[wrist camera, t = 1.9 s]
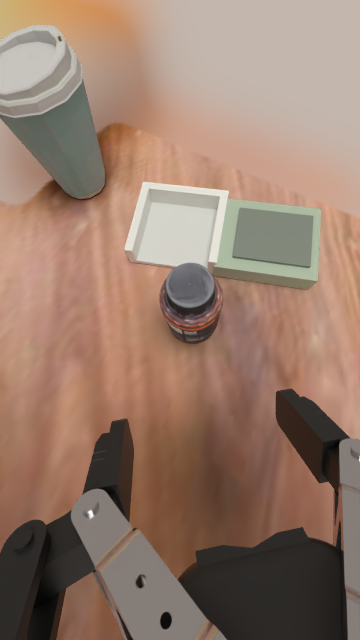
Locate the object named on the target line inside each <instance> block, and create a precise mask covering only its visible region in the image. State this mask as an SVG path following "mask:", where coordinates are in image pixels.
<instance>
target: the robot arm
mask: <svg viewBox="0 0 360 640" xmlns="http://www.w3.org/2000/svg"><path fill="white" fill-rule="evenodd" d="M276 419H277V422H278V424H279V426H280V428H281V429H282V431H283V432H284V433H285V435H286V436H287V438H288V439H289V441H290V442H291V443H292V445H293V446H294V448H295V449H296V451H297V452H298V453H299V455H300V456H301V458H302V459H303V461H304V462H305V464H306V465H307V466H308V468H309V469H310V471H311V472H312V474H313V475H314V476H315V478H316V479H317V481H318V482H319V483H324V482H328V481H329V483H330V484H331V485H332V487H333V488H334V492H333V545H331V544H329V543H327V542H324V541H321V540H319V539H314V538H308V537H307V535H306V533H305V531H304V529H303V527H301V528H297V529H292V530H288V531H283V532H279V533H276V534H274V535H273V536H271V537H270V538H268V539H267V540H265V541H263V542H262V543H260V544H259V545H257V546H255V547H253V548H247V547H236V546H225V545H221V546H217V547H213V548H208V549H204V550H199V551H196V558H197V562H196V563H194V564H192V565H191V566H190V567H189V568H187V569H186V570H185V571H184V572H183V573H182V575H181V576H180V577H179V578H178V580H177V579H176V577H175V576H174V575H173V574H172V572H171V571H170V570H169V568H168V567H167V566H166V564H165V563H164V562H163V560H162V559H161V558H160V556H159V555H158V554H157V552H156V551H155V550H154V548H153V547H152V546H151V544H150V543H149V542H148V540H147V539H146V538H145V536H144V535H143V534H142V533H141V531H140V530H139V529H138V528H135V529H133V528H132V526H131V525H130V524H129V516H130V502H131V488H132V473H133V459H134V447H133V440H132V436H131V432H130V428H129V423H128V420H127V419H121V420H116V421H112V423H111V428H110V433H104V434H102V435H101V436H100V438H99V439H98V441H97V442H96V444H95V448H94V452H93V456H92V460H91V464H90V467H89V471H88V475H87V479H86V483H85V487H84V491H83V494H82V496H81V497H80V498H79V499H78V500H77V501H76V503H75V504H74V506H73V508H72V510H71V511H70V512H68V513H67V514H66V515H64V516H62V517H61V518H59V519H57V520H55V521H53V522H51V523H49V524H47V525H45V523H44V522H43V521H41V520H32V521H29V522H27V523H25V524H23V525H21V526H20V527H19V528H17V529H16V530H15V531H14V532H13V533H12V534H11V535H10V537H9V538H8V539H7V541H6V542H5V544H4V546H3V548H2V550H1V553H0V640H56V638H57V632H58V627H59V622H60V617H61V612H62V606H63V601H64V596H65V591H66V588H67V587H69V586H70V585H72V584H73V583H75V582H77V581H78V580H80V579H81V578H83V577H84V576H86V575H88V574H89V573H91V572H92V573H93V575H94V577H95V579H96V581H97V583H98V585H99V587H100V589H101V591H102V593H103V595H104V597H105V599H106V601H107V603H108V605H109V607H110V609H111V611H112V613H113V615H114V617H115V619H116V621H117V624H118V626H119V628H120V630H121V633H122V635H123V637H124V639H125V640H360V440H358V439H352V438H350V437H349V436H348V435H347V434H346V433H345V432H344V431H343V430H342V429H340V428H339V427H338V426H337V425H336V424H335V423H334V422H333V421H332V420H331V419H330V418H329V417H328V416H327V415H326V414H325V413H324V412H323V411H322V410H321V409H320V408H319V407H318V406H317V405H316V404H315V403H314V402H313V401H311V400H309V399H307V398H306V397H304V396H303V397H299V395H298V394H297V393H296V392H295V391H294V390H293V389H286V390H280V391H277V392H276Z"/></svg>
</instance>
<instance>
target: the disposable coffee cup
mask: <svg viewBox="0 0 360 640" xmlns="http://www.w3.org/2000/svg"><path fill="white" fill-rule="evenodd" d="M0 118H1V119H2V120H3V122H4V123H5V124H6V125H7V126H8V127H9V128H10V129H11V131H12V132H13V133H14V134H15V135H16V136H17V138H18V139H19V140H20V141H21V142H22V143H23V144H24V145H25V147H26V148H27V149H28V150H29V151H30V152H31V153H32V155H33V156H34V157H35V158H36V159H37V160H38V161H39V163H40V164H41V165H42V166H43V167H44V168H45V169H46V170H47V172H48V173H49V174H50V175H51V176H52V177H53V178H54V180H55V181H56V182H57V183H58V184H59V185H60V186H61V187H62V189H63V190H64V191H65V192H66V193H67V194H69V195H70V196H72V197H75V198H78V199H86V198H91V197H93V196H94V195H96V194H98V193H100V191H101V190H102V188H103V187H104V185H105V168H104V164H103V160H102V156H101V152H100V148H99V144H98V140H97V135H96V131H95V127H94V124H93V119H92V115H91V111H90V107H89V103H88V98H87V94H86V90H85V86H84V82H83V79H82V66H81V63H80V62H79V61H78V58H77V56H76V53H75V51H73V49H72V48H71V47H70V46H69V45H68V44H67V43H66V40H65V37H64V36H63V34H62V33H61V32H60V31H59V30H58V29H57V28H56V27H54V26H45V25H34V26H31V27H27V28H24V29H21V30H18V31H15V32H13V33H11V34H10V35H8V36H7V37H5V38H3V39H2V40H0Z"/></svg>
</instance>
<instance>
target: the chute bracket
mask: <svg viewBox="0 0 360 640" xmlns="http://www.w3.org/2000/svg"><path fill="white" fill-rule="evenodd" d="M228 193H229V191H225V190H216V189H206V188H197V187H188V186H179V185H170V184H160V183H151V182H143V185H142V188H141V192H140V195H139V199H138V203H137V206H136V210H135V213H134V217H133V220H132V224H131V227H130V231H129V235H128V238H127V242H126V245H125V249H124V250H125V252H126V254H127V256H128V258H129V260H130V262H134V263H141V264H148V265H155V266H162V267H169V268H175V267H177V266H179V265H181V264H184V263H197V264H200V265H202V266H204V267H206V268H207V269H208V270H209V271H210V273H211V274H213V270H214V265H216V264H217V258H218V252H219V246H220V240H221V234H222V228H223V223H224V217H225V211H226V205H227V199H228Z"/></svg>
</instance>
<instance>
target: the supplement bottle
mask: <svg viewBox="0 0 360 640" xmlns="http://www.w3.org/2000/svg"><path fill="white" fill-rule="evenodd" d="M222 305H223V292H222V288H221V286H220V284H219V282H218V280H217V279H216V278H215V277H214V276H213V275H212V274H211V273H210V271H209V270H208V269H207V268H206V267H204V266H202V265H200V264H197V263H184V264H181V265H179V266H177V267H175V268H174V269H173V270H172V271H171V272H170V274H169V275H168V277H167V279H166V280H165V281H164V283H163V285H162V288H161V291H160V306H161V309H162V312H163V314H164V316H165V318H166V320H167V323H168V325H169V327H170V329H171V331H172V332H173V334H174V335H175V336H176V337H177V338H178V339H180V340H181V341H183V342H186V343H200V342H203V341H205V340H206V339H208V338H209V337H210V336H211V335H212V334H213V332H214V330H215V328H216V326H217V322H218V319H219V316H220V312H221V309H222Z"/></svg>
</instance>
